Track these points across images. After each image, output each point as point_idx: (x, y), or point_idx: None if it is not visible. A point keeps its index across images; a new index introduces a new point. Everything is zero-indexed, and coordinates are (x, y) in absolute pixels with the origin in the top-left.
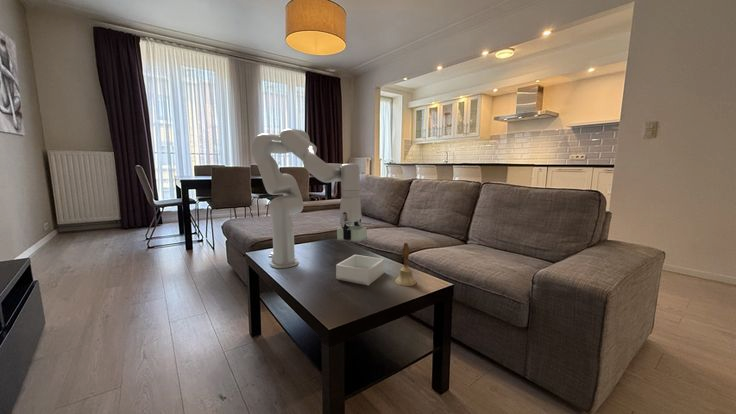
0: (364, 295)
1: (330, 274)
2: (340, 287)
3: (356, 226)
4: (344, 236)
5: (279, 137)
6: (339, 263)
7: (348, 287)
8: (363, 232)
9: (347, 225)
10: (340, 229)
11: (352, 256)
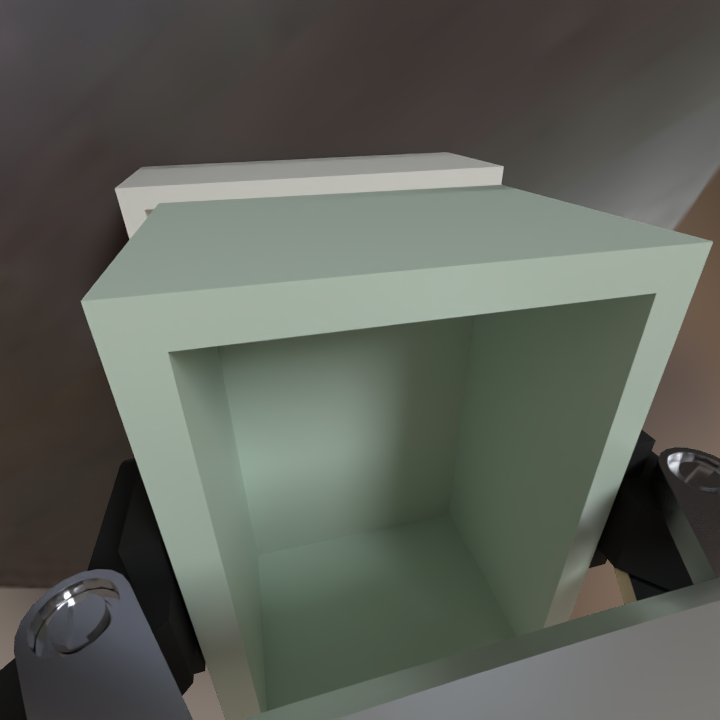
0: (73, 466)
1: (192, 36)
2: (42, 297)
3: (566, 546)
4: (121, 475)
5: None
6: (176, 194)
7: (88, 340)
8: (410, 623)
9: (650, 328)
10: (142, 425)
11: (437, 182)
